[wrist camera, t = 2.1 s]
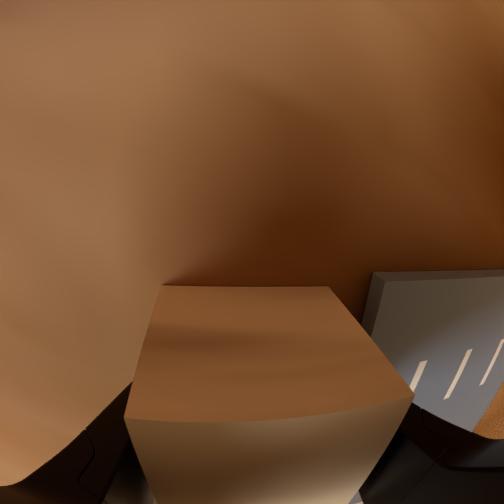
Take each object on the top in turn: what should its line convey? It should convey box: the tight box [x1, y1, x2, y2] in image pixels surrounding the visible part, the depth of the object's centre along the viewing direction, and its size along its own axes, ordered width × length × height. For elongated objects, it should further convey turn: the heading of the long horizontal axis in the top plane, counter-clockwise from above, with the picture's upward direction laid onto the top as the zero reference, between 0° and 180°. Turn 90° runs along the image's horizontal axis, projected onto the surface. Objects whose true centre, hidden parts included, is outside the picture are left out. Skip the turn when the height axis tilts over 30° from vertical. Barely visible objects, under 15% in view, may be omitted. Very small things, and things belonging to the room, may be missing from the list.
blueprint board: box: [348, 269, 504, 504], centre depth 13 cm, size 20×12×1 cm, turn 176°
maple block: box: [124, 285, 415, 504], centre depth 7 cm, size 5×5×5 cm
